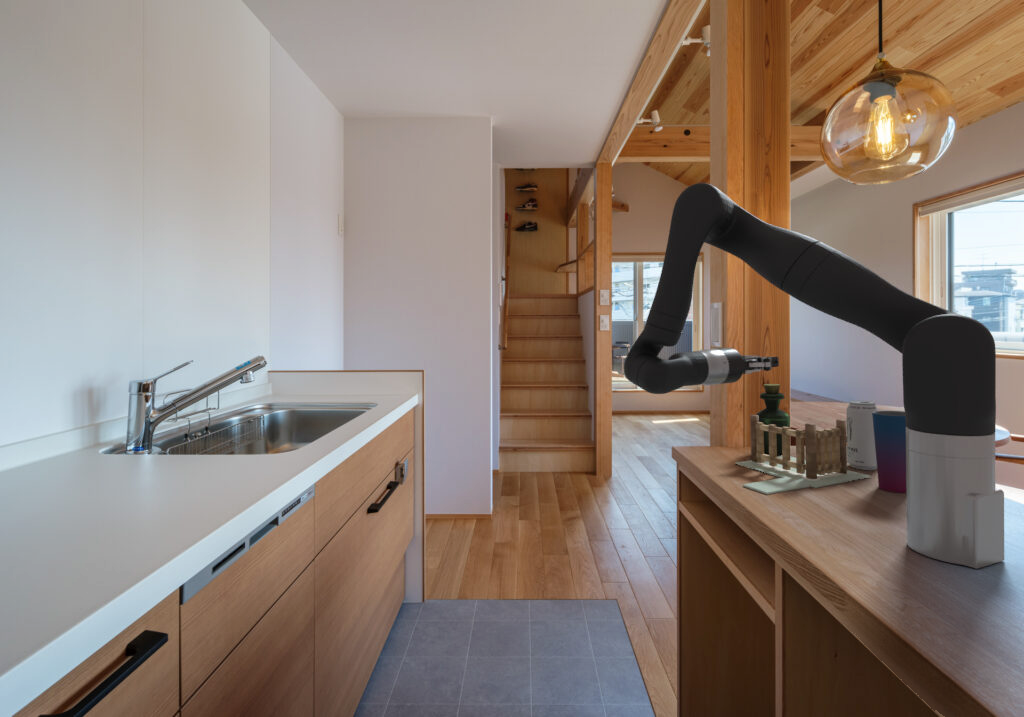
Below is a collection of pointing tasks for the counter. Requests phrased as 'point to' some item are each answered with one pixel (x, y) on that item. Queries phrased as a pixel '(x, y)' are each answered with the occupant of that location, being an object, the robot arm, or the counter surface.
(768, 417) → the potion bottle
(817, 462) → the fixed fence panel
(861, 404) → the energy drink can
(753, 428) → the swing panel
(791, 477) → the board
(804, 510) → the counter surface
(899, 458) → the cup
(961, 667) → the counter surface
